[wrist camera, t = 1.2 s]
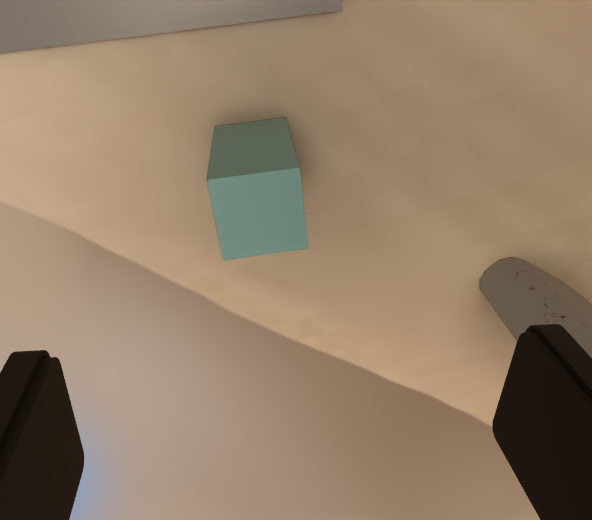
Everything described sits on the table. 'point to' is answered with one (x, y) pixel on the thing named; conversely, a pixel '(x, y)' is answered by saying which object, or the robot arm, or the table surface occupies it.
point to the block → (256, 189)
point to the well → (133, 18)
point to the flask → (536, 300)
